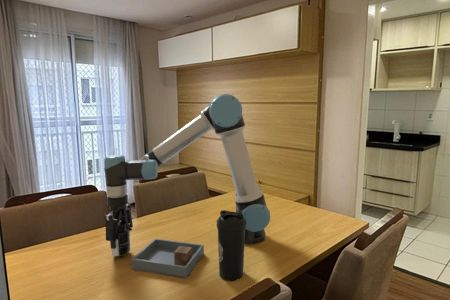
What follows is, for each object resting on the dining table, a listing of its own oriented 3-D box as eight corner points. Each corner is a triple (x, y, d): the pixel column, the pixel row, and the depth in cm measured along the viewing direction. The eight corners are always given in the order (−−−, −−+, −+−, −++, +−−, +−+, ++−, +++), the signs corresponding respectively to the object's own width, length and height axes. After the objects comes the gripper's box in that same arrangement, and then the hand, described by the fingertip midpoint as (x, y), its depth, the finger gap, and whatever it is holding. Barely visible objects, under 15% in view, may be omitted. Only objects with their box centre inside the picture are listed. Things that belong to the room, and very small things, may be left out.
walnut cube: (192, 259, 115) (191, 247, 114) (186, 266, 110) (186, 253, 109) (180, 257, 116) (179, 245, 115) (174, 264, 111) (174, 251, 111)
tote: (203, 254, 120) (203, 244, 120) (186, 278, 103) (186, 267, 103) (155, 247, 126) (155, 238, 125) (131, 269, 109) (131, 259, 109)
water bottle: (216, 267, 111) (215, 207, 107) (243, 265, 112) (243, 206, 108) (217, 283, 101) (217, 218, 97) (247, 281, 102) (248, 216, 98)
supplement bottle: (124, 257, 115) (122, 227, 113) (108, 255, 117) (106, 226, 115) (133, 248, 122) (131, 220, 120) (118, 247, 123) (116, 219, 121)
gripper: (123, 187, 126) (127, 239, 130) (91, 202, 107) (96, 262, 111) (139, 188, 124) (142, 240, 128) (109, 203, 105) (114, 264, 109)
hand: (121, 250), depth 119 cm, fingers closed on supplement bottle, 7 cm apart
